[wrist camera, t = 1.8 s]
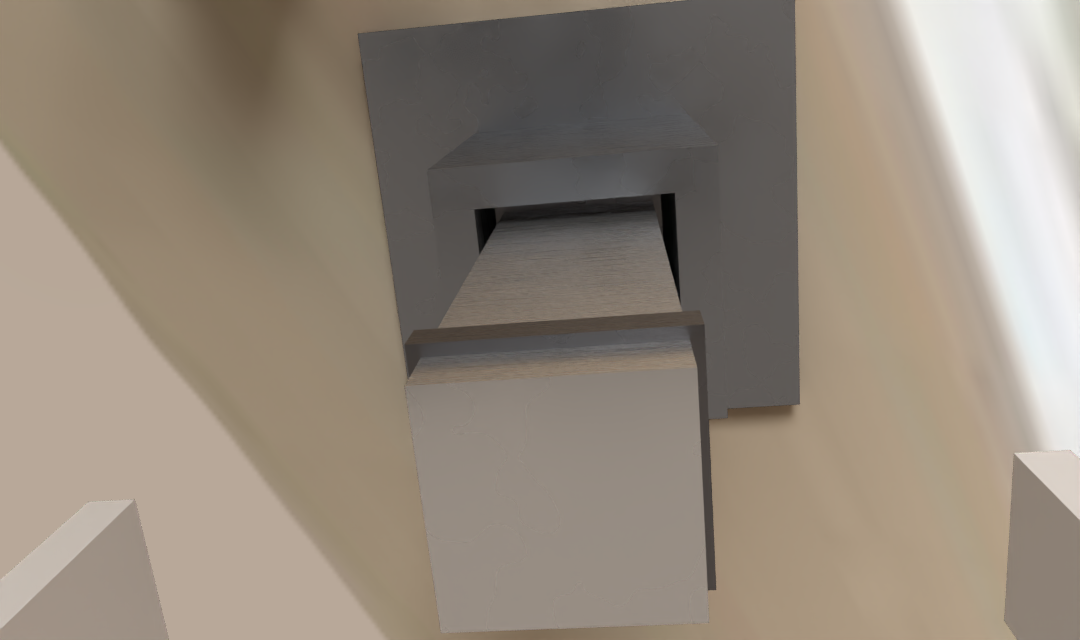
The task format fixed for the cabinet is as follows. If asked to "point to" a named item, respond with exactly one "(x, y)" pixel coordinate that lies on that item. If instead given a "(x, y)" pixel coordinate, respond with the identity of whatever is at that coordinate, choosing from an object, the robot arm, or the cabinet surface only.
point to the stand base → (605, 158)
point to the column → (566, 428)
